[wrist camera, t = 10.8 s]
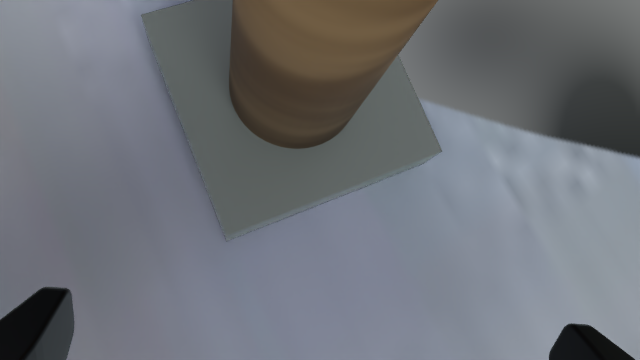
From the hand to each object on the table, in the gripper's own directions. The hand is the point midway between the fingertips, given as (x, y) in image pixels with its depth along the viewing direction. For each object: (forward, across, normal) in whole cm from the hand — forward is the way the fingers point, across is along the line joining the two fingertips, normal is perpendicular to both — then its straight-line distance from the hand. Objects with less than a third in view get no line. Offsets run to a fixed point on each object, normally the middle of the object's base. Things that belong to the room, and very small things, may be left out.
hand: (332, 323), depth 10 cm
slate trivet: (+14, 0, +2) cm, 14 cm away
